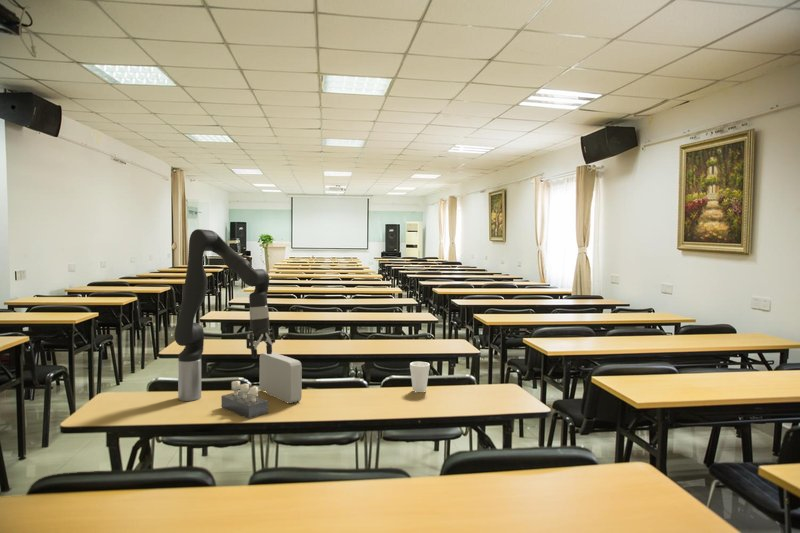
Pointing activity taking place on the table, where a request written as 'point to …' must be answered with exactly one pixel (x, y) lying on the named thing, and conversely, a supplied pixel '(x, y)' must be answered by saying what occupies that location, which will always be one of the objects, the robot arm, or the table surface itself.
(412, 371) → the foam cup
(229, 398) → the mount
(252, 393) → the knob
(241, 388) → the knob
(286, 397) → the rounded white slab
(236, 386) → the knob
